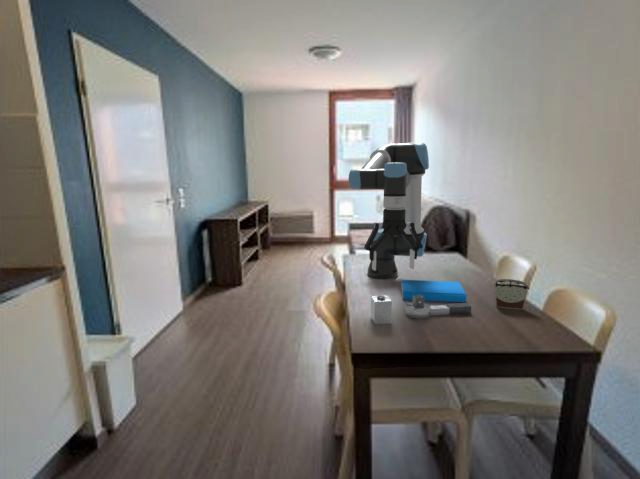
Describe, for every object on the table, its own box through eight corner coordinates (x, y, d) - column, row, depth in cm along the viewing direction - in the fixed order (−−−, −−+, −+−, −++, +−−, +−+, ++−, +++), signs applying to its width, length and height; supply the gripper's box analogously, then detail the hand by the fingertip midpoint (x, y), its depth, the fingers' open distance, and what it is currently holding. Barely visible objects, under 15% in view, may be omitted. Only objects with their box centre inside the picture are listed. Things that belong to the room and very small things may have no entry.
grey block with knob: (370, 317, 140) (371, 294, 138) (386, 316, 140) (387, 293, 139) (374, 324, 134) (374, 300, 132) (391, 323, 135) (391, 299, 133)
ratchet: (402, 310, 146) (402, 292, 145) (462, 307, 148) (464, 290, 147) (409, 319, 138) (410, 300, 136) (474, 316, 140) (475, 298, 138)
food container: (524, 304, 151) (527, 280, 149) (527, 310, 145) (529, 284, 143) (490, 301, 155) (492, 277, 153) (491, 306, 149) (493, 281, 147)
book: (401, 279, 174) (458, 280, 169) (400, 288, 174) (458, 290, 170) (402, 291, 157) (466, 293, 153) (402, 301, 158) (466, 303, 154)
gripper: (360, 210, 126) (360, 272, 130) (433, 208, 129) (431, 270, 132) (356, 208, 133) (355, 267, 137) (425, 206, 136) (423, 264, 140)
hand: (392, 268), depth 135 cm, fingers open, 13 cm apart
